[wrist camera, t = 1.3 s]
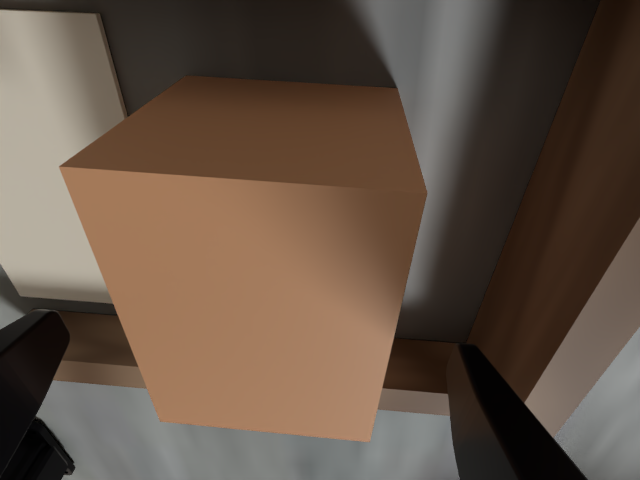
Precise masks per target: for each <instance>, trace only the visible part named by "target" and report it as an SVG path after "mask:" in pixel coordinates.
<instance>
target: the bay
mask: <svg viewBox="0 0 640 480" xmlns="http://www.w3.org/2000/svg"><path fill="white" fill-rule="evenodd" d="M127 117H128V116H127V112H126V108H125V105H124V101H123V97H122V94H121V90H120V86H119V83H118V79H117V75H116V71H115V68H114V64H113V60H112V57H111V53H110V49H109V46H108V42H107V38H106V34H105V31H104V27H103V23H102V20H101V16H100V13H82V12H59V11H36V10H13V9H0V264H1V265H2V267H3V269H4V270H5V272H6V273H7V275H8V277H9V278H10V280H11V282H12V283H13V285H14V287H15V288H16V290H17V292H18V293H19V295H20V296H23V297H36V298H48V299H61V300H73V301H86V302H98V303H111V304H113V302H112V299H111V297H110V294H109V292H108V289H107V287H106V284H105V282H104V279H103V277H102V274H101V272H100V269H99V267H98V264H97V262H96V259H95V257H94V254H93V251H92V249H91V246H90V244H89V241H88V239H87V236H86V234H85V231H84V229H83V226H82V224H81V221H80V219H79V216H78V214H77V211H76V209H75V206H74V204H73V201H72V199H71V196H70V194H69V191H68V189H67V186H66V184H65V181H64V179H63V176H62V174H61V171H60V169H59V166H60V165H62V164H63V163H64V162H66V161H67V160H69V159H70V158H71V157H73V156H74V155H76V154H77V153H78V152H80V151H81V150H82V149H84V148H85V147H87V146H88V145H89V144H91V143H92V142H94V141H95V140H96V139H98V138H99V137H101V136H102V135H103V134H105V133H106V132H108V131H109V130H110V129H112V128H113V127H115V126H116V125H117V124H119V123H120V122H122V121H123V120H124V119H126V118H127ZM34 310H37V309H32V310H31V311H30V312H32V311H34ZM30 312H29V313H30ZM57 312H58V313H59V314H60V316H61V318H62V319H63V321H64V323H65V325H66V327H67V329H68V331H69V333H70V342H69V345H68V347H67V349H66V352H65V354H64V356H63V358H62V361H61V363H60V365H59V367H58V370H57V372H56V374H55V376H54V378H53V380H57V381H68V382H79V383H90V384H102V385H113V386H124V387H135V388H146V389H147V387H146V385H145V382H144V380H143V377H142V375H141V372H140V370H139V367H138V364H137V362H136V359H135V357H134V354H133V352H132V349H131V347H130V344H129V342H128V339H127V337H126V334H125V332H124V329H123V327H122V324H121V322H120V319H119V317H118V316H115V315H103V314H91V313H78V312H66V311H57ZM639 327H640V0H600V3H599V5H598V8H597V10H596V13H595V16H594V18H593V21H592V23H591V26H590V28H589V31H588V33H587V36H586V39H585V41H584V44H583V46H582V49H581V51H580V54H579V56H578V59H577V61H576V64H575V67H574V69H573V72H572V74H571V77H570V79H569V82H568V84H567V87H566V90H565V92H564V95H563V97H562V100H561V102H560V105H559V107H558V110H557V112H556V115H555V118H554V120H553V123H552V125H551V128H550V130H549V133H548V135H547V138H546V141H545V143H544V146H543V148H542V151H541V153H540V156H539V158H538V161H537V163H536V166H535V169H534V171H533V174H532V176H531V179H530V181H529V184H528V186H527V189H526V192H525V194H524V197H523V199H522V202H521V204H520V207H519V209H518V212H517V214H516V217H515V220H514V222H513V225H512V227H511V230H510V232H509V235H508V237H507V240H506V243H505V245H504V248H503V250H502V253H501V255H500V258H499V260H498V263H497V265H496V268H495V271H494V273H493V276H492V278H491V281H490V283H489V286H488V288H487V291H486V294H485V296H484V299H483V301H482V304H481V306H480V309H479V311H478V314H477V316H476V319H475V322H474V324H473V327H472V329H471V332H470V334H469V337H468V339H467V342H466V343H467V344H474V345H476V346H477V347H478V348H479V349H480V350H481V352H482V353H483V354H484V355H485V356H486V358H487V359H488V360H489V361H490V362H491V364H492V365H493V366H494V367H495V368H496V370H497V371H498V372H499V373H500V374H501V376H502V377H503V378H504V379H505V380H506V382H507V383H508V384H509V385H510V386H511V388H512V389H513V390H514V391H515V393H516V394H517V395H518V396H519V397H520V399H521V400H522V401H523V402H524V403H525V405H526V406H527V407H528V408H529V409H530V411H531V412H532V413H533V414H534V415H535V417H536V418H537V419H538V420H539V421H540V423H541V424H542V425H543V426H544V427H545V429H546V430H547V431H548V432H549V433H550V435H551V436H552V437H554V436H555V435H556V434H557V432H558V431H559V430H560V428H561V427H562V426H563V425H564V423H565V422H566V421H567V419H568V418H569V417H570V416H571V414H572V413H573V412H574V410H575V409H576V408H577V407H578V405H579V404H580V403H581V401H582V400H583V399H584V398H585V396H586V395H587V394H588V392H589V391H590V390H591V389H592V387H593V386H594V385H595V383H596V382H597V381H598V380H599V378H600V377H601V376H602V374H603V373H604V372H605V371H606V369H607V368H608V367H609V365H610V364H611V363H612V361H613V360H614V359H615V358H616V356H617V355H618V354H619V352H620V351H621V350H622V349H623V347H624V346H625V345H626V343H627V342H628V341H629V340H630V338H631V337H632V336H633V334H634V333H635V332H636V331H637V329H638V328H639ZM455 344H457V343H448V342H435V341H423V340H411V339H398V338H394V339H393V344H392V348H391V352H390V357H389V361H388V365H387V370H386V374H385V378H384V383H383V387H382V391H381V396H380V400H379V404H378V408H377V409H379V410H390V411H402V412H413V413H424V414H435V415H446V416H450V410H449V399H448V389H447V378H446V368H447V364H448V361H449V358H450V356H451V353H452V350H453V347H454V345H455Z"/></svg>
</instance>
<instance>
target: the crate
mask: <svg viewBox="0 0 640 480" xmlns="http://www.w3.org/2000/svg"><path fill="white" fill-rule="evenodd" d="M59 169H60V171H61V174H62V176H63V179H64V181H65V184H66V186H67V189H68V191H69V194H70V196H71V199H72V201H73V204H74V206H75V209H76V211H77V214H78V216H79V219H80V221H81V224H82V226H83V229H84V231H85V234H86V236H87V239H88V241H89V244H90V246H91V249H92V251H93V254H94V257H95V259H96V262H97V264H98V267H99V269H100V272H101V274H102V277H103V279H104V282H105V284H106V287H107V289H108V292H109V294H110V297H111V299H112V302H113V304H114V307H115V309H116V312H117V314H118V317H119V319H120V322H121V324H122V327H123V329H124V332H125V334H126V337H127V339H128V342H129V344H130V347H131V349H132V352H133V354H134V357H135V359H136V362H137V364H138V367H139V370H140V372H141V375H142V377H143V380H144V382H145V385H146V387H147V390H148V392H149V395H150V397H151V400H152V402H153V405H154V407H155V410H156V412H157V415H158V417H159V420H160V422H170V423H180V424H191V425H201V426H211V427H221V428H231V429H241V430H251V431H262V432H272V433H282V434H292V435H302V436H312V437H322V438H333V439H343V440H353V441H363V442H370V439H371V434H372V430H373V426H374V421H375V417H376V413H377V408H378V404H379V400H380V396H381V391H382V387H383V383H384V378H385V374H386V370H387V365H388V361H389V357H390V352H391V348H392V344H393V339H394V335H395V331H396V326H397V322H398V318H399V313H400V309H401V305H402V300H403V296H404V292H405V287H406V283H407V279H408V274H409V270H410V266H411V261H412V257H413V253H414V249H415V244H416V240H417V236H418V231H419V227H420V223H421V218H422V214H423V210H424V205H425V201H426V197H427V190H426V186H425V183H424V179H423V176H422V172H421V169H420V165H419V162H418V158H417V155H416V151H415V148H414V144H413V141H412V137H411V134H410V130H409V127H408V123H407V120H406V116H405V113H404V109H403V106H402V102H401V99H400V95H399V92H398V88H385V87H368V86H352V85H336V84H319V83H303V82H286V81H270V80H253V79H237V78H220V77H204V76H188V75H186V76H185V77H183V78H182V79H180V80H179V81H178V82H176V83H175V84H173V85H172V86H171V87H169V88H168V89H166V90H165V91H164V92H162V93H161V94H159V95H158V96H157V97H155V98H154V99H152V100H151V101H150V102H148V103H147V104H145V105H144V106H143V107H141V108H140V109H138V110H137V111H136V112H134V113H133V114H131V115H130V116H129V117H127V118H126V119H124V120H123V121H122V122H120V123H119V124H117V125H116V126H115V127H113V128H112V129H110V130H109V131H108V132H106V133H105V134H103V135H102V136H101V137H99V138H98V139H96V140H95V141H94V142H92V143H91V144H89V145H88V146H87V147H85V148H84V149H82V150H81V151H80V152H78V153H77V154H76V155H74V156H73V157H71V158H70V159H69V160H67V161H66V162H64V163H63V164H62V165H60V166H59Z"/></svg>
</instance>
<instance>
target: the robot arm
mask: <svg viewBox="0 0 640 480" xmlns="http://www.w3.org/2000/svg"><path fill="white" fill-rule="evenodd" d="M69 342H70V333H69V331H68V329H67V327H66V325H65V323H64V321H63V319H62V318H61V316H60V314H59V313H58V312H57V311H55V310H47V309H37V310H34V311H32V312H30V313H29V314H27V315H25V316H23V317H22V318H20V319H18V320H16V321H15V322H13V323H11V324H9V325H8V326H6V327H4V328H2V329H1V330H0V480H61V479H62V477H63V475H72V473H73V471H74V470H75V466H74V465H73V463H72V462H71V461H70V459H69V458H68V457H67V456H66V454H65V453H64V452H63V450H62V449H61V448H60V446H59V445H58V444H57V443H56V441H55V440H54V439H53V437H52V436H51V435H50V433H49V432H48V431H47V430H46V428H45V427H44V426H43V425H42V424H40V423H37V422H32V421H33V419H34V418H35V416H36V414H37V412H38V410H39V408H40V407H41V405H42V402H43V400H44V398H45V396H46V394H47V392H48V390H49V387H50V385H51V383H52V381H53V378H54V376H55V374H56V372H57V370H58V367H59V365H60V363H61V361H62V358H63V356H64V354H65V352H66V349H67V347H68V345H69ZM446 378H447V389H448V399H449V410H450V421H451V431H452V440H453V447H454V453H455V458H456V463H457V468H458V473H459V477H460V480H588V479H587V478H586V477H585V476H584V474H583V473H582V472H581V471H580V470H579V468H578V467H577V466H576V465H575V464H574V462H573V461H572V460H571V459H570V458H569V456H568V455H567V454H566V453H565V452H564V450H563V449H562V448H561V447H560V445H559V444H558V443H557V442H556V441H555V439H554V438H553V437H552V436H551V435H550V433H549V432H548V431H547V430H546V429H545V427H544V426H543V425H542V424H541V423H540V421H539V420H538V419H537V418H536V417H535V415H534V414H533V413H532V412H531V411H530V409H529V408H528V407H527V406H526V405H525V403H524V402H523V401H522V400H521V399H520V397H519V396H518V395H517V394H516V393H515V391H514V390H513V389H512V388H511V386H510V385H509V384H508V383H507V382H506V380H505V379H504V378H503V377H502V376H501V374H500V373H499V372H498V371H497V370H496V368H495V367H494V366H493V365H492V364H491V362H490V361H489V360H488V359H487V358H486V356H485V355H484V354H483V353H482V352H481V350H480V349H479V348H478V347H477V346H476V345H474V344H467V343H457V344H455V345H454V347H453V350H452V353H451V356H450V358H449V361H448V364H447V368H446Z"/></svg>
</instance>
